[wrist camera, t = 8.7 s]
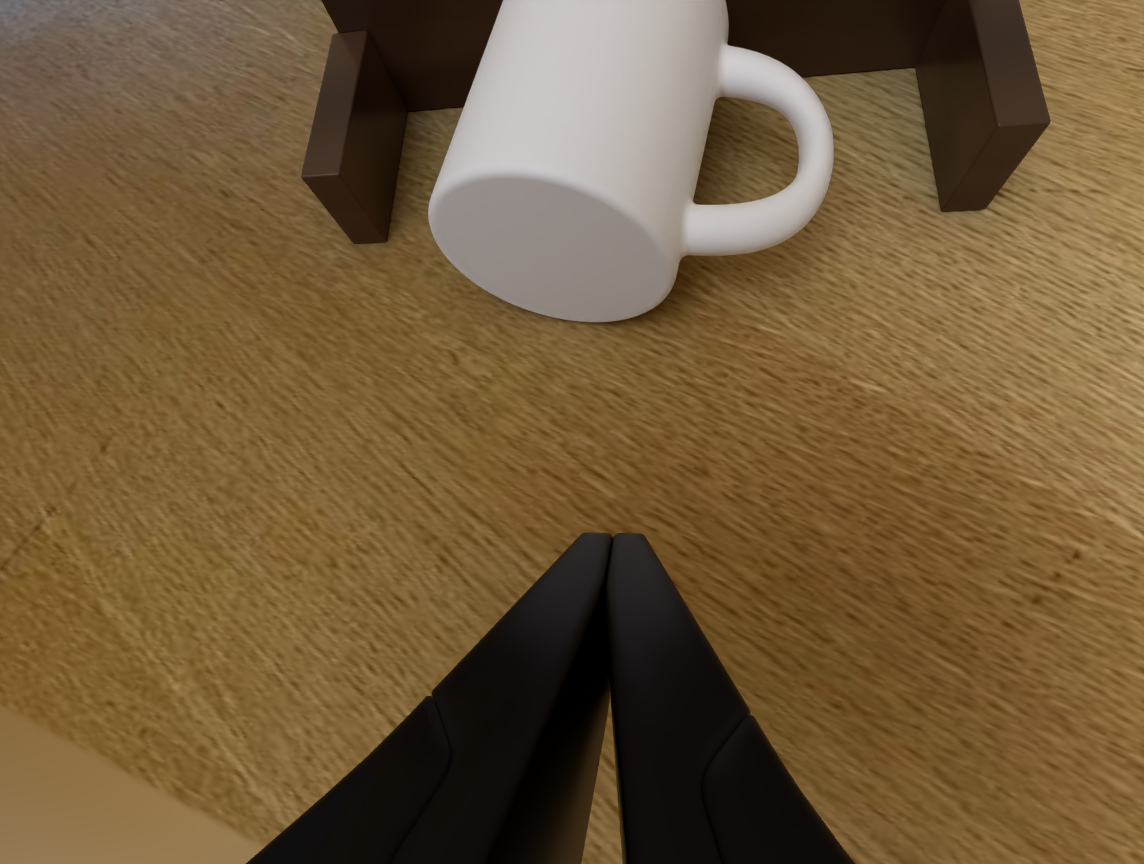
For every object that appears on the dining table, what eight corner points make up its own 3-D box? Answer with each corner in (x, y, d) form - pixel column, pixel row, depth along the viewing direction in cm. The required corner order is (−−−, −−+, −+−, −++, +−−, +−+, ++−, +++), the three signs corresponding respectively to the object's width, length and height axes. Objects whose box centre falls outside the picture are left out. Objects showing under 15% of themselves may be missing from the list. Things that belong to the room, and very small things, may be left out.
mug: (470, 308, 24) (381, 156, 16) (535, 109, 26) (484, -99, 19) (786, 356, 21) (855, 204, 14) (821, 131, 24) (894, -98, 16)
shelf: (985, 210, 22) (1124, 27, 15) (353, 244, 25) (245, 108, 19) (947, 27, 25) (1050, -194, 18) (383, 81, 28) (298, -87, 22)
